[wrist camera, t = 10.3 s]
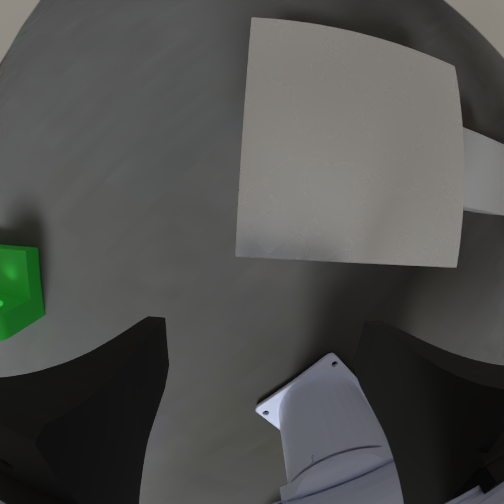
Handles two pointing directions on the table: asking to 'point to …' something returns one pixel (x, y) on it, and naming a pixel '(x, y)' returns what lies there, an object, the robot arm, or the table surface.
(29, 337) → the table surface
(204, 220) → the table surface
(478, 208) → the rod with pink block
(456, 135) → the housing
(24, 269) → the mechanical part
